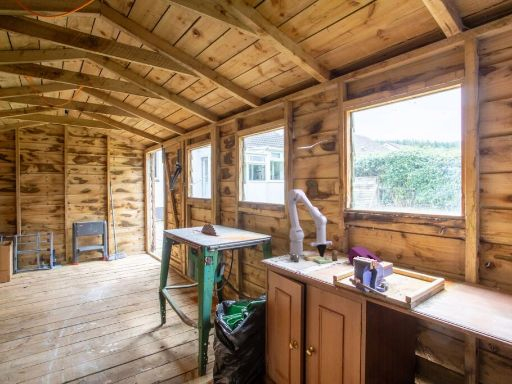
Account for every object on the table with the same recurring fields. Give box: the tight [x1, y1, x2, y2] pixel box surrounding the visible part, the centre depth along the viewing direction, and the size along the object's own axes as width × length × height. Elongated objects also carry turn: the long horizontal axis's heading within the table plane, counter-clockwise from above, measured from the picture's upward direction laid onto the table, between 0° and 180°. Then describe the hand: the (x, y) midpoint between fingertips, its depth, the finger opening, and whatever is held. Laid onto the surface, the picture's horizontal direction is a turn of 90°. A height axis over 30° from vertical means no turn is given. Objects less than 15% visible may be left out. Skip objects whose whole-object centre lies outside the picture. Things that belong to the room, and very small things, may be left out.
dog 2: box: [293, 255, 300, 263], centre depth 179 cm, size 3×3×4 cm
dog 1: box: [289, 253, 295, 262], centre depth 184 cm, size 3×3×4 cm
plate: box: [302, 253, 322, 262], centre depth 185 cm, size 8×8×2 cm
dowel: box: [331, 249, 339, 262], centre depth 180 cm, size 3×3×6 cm
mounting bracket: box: [347, 245, 383, 265], centre depth 168 cm, size 9×8×18 cm
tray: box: [313, 256, 334, 265], centre depth 178 cm, size 8×8×2 cm
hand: (321, 256), depth 187 cm, fingers closed
